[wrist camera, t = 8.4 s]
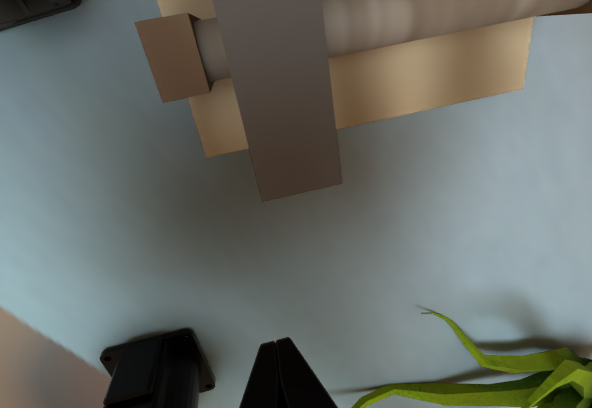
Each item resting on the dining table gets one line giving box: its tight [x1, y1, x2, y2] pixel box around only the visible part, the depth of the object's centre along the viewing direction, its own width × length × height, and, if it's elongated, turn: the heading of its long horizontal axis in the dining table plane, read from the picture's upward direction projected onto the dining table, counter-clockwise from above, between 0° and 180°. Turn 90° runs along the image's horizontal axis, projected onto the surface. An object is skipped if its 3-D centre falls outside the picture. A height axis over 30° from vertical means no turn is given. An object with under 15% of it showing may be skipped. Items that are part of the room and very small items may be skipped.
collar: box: [212, 0, 342, 202], centre depth 12 cm, size 3×10×5 cm, turn 10°
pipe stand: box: [135, 0, 592, 158], centre depth 14 cm, size 18×10×6 cm, turn 100°
